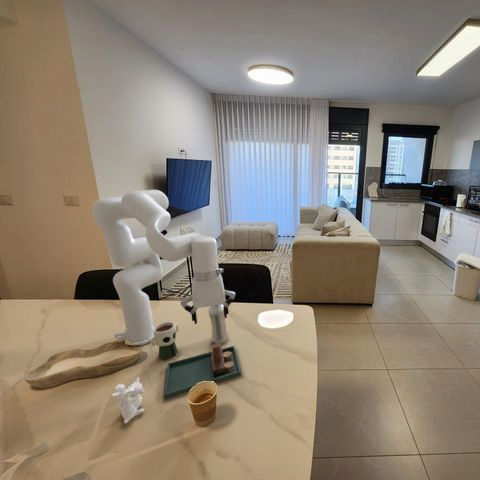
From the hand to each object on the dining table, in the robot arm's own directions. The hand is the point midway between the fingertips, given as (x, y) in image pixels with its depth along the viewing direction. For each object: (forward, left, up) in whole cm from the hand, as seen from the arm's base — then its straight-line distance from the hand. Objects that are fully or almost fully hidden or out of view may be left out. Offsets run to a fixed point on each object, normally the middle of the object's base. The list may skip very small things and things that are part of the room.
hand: (210, 318), depth 91 cm
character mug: (-16, +13, -20) cm, 29 cm away
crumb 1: (+4, +1, -19) cm, 19 cm away
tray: (-4, -2, -20) cm, 20 cm away
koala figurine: (-24, -11, -20) cm, 33 cm away
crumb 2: (+4, -5, -19) cm, 20 cm away
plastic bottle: (+3, +14, -20) cm, 25 cm away
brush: (+1, -2, -19) cm, 19 cm away
